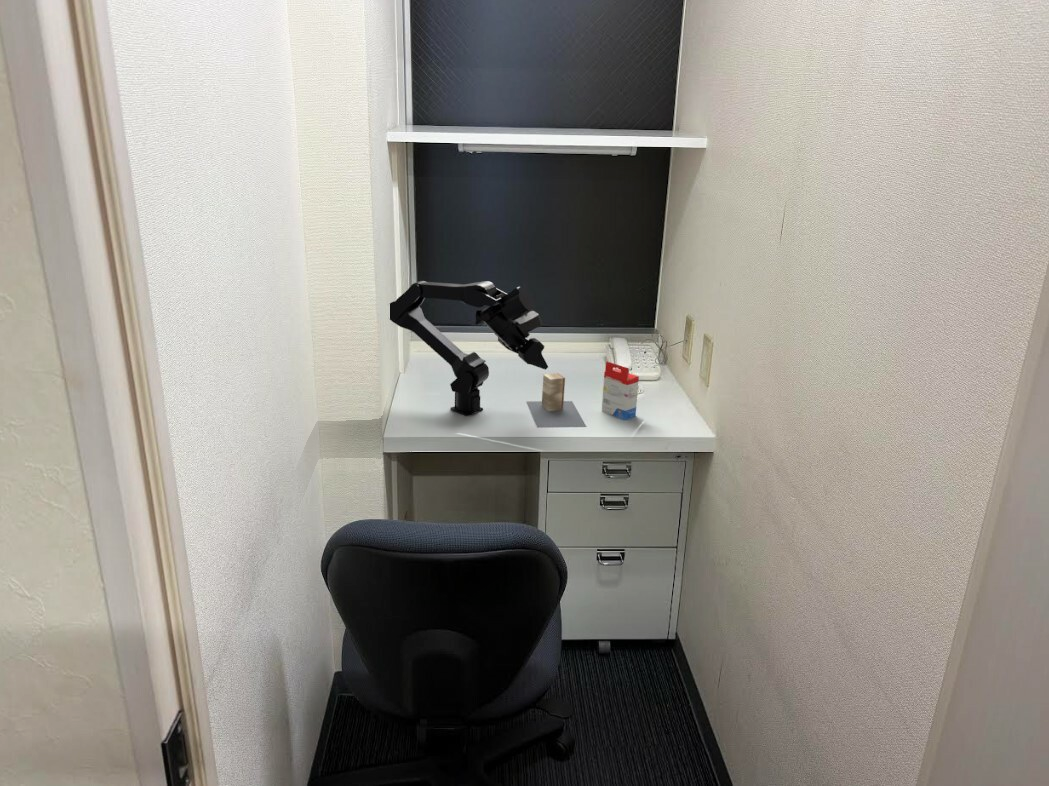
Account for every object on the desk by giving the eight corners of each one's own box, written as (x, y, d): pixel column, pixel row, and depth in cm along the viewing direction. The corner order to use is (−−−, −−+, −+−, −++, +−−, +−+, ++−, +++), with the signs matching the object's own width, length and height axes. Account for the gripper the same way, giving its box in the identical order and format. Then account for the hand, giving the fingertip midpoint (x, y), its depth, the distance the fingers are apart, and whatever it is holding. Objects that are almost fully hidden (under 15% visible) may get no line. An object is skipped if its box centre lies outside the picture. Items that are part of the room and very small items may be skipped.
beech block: (548, 411, 213) (550, 379, 210) (541, 405, 217) (543, 374, 214) (563, 409, 215) (565, 378, 212) (556, 403, 219) (558, 373, 216)
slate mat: (586, 428, 204) (586, 426, 204) (536, 428, 202) (537, 427, 202) (571, 402, 222) (571, 401, 221) (526, 402, 220) (526, 401, 219)
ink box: (636, 417, 213) (641, 365, 208) (624, 421, 210) (629, 369, 205) (612, 408, 219) (616, 357, 214) (600, 412, 215) (604, 360, 210)
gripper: (538, 311, 194) (576, 350, 202) (510, 294, 210) (545, 331, 218) (508, 344, 194) (546, 382, 201) (481, 324, 210) (518, 361, 218)
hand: (539, 363), depth 210 cm, fingers open, 9 cm apart
